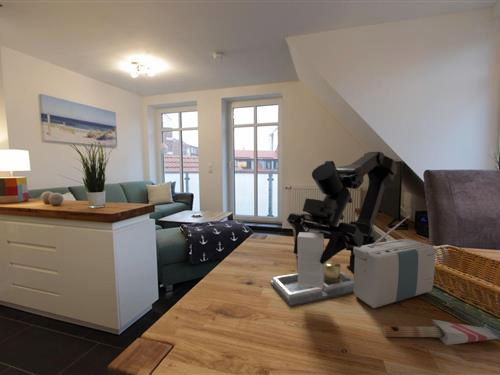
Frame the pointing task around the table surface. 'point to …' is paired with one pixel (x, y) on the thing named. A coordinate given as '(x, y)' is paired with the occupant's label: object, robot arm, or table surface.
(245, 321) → the table surface
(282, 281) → the grey divided tray
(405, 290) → the white boxy appliance
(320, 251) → the skincare box
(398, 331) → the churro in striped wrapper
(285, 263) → the table surface
